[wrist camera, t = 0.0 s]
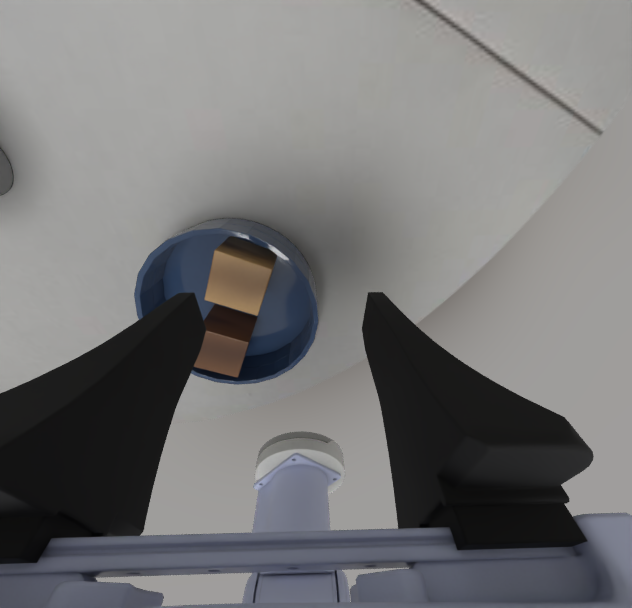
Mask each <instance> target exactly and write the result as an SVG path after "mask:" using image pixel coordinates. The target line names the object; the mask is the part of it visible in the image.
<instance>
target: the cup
mask: <svg viewBox="0 0 632 608" xmlns="http://www.w3.org/2000/svg"><path fill="white" fill-rule="evenodd" d="M12 183H13V173H12V169H11V166H10V163H9V161H8V159H7V157H6V155H5V154H4V152H3V151H2V150H1V148H0V195H3V194H5V193H6V192H8V191H9V189H10V188H11V186H12Z"/></svg>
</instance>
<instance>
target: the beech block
mask: <svg viewBox="0 0 632 608" xmlns="http://www.w3.org/2000/svg"><path fill="white" fill-rule="evenodd" d="M276 259H277V255H276V254H275V253H274V252H272V251H271V250H269V249H266V248H264V247H261V246H258V245H255V244H252V243H250V242H247V241H244V240H241V239H238V238H235V237H232V236H230V237H228V238H227V239H226V240H225V241H224V242H223V243H222V244H221V245H220V246H219V247H218V248H217V249H215V251H214V255H213V260H212V265H211V270H210V274H209V279H208V284H207V289H206V294H205V300H206V301H210V302H213V303H216V304H220V305H223V306H226V307H230V308H233V309H236V310H240V311H243V312H246V313H249V314H253V315H256V316H257V315H258V314H259V311H260V308H261V305H262V302H263V299H264V296H265V293H266V290H267V286H268V283H269V280H270V277H271V274H272V271H273V268H274V265H275V262H276Z"/></svg>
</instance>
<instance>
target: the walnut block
mask: <svg viewBox="0 0 632 608" xmlns="http://www.w3.org/2000/svg"><path fill="white" fill-rule="evenodd" d="M256 321H257V317H255V316H252V315H248V314H245V313H242V312H238V311H235V310H232V309H228V308H225V307H222V306H218V305H214V306H213V307H212V309H211V310H210V312H209V313H208V315H207V316H206V318H205V319H204V323H205V327H206V333H205V336H204V340H203V344H202V347H201V350H200V353H199V355H198V358H197V360H196V362H195V364H194V367H197V368H201V369H205V370H209V371H213V372H217V373H221V374H225V375H229V376H233V377H238V376H239V373H240V370H241V367H242V364H243V361H244V357H245V354H246V351H247V348H248V345H249V342H250V339H251V336H252V333H253V330H254V327H255V324H256Z"/></svg>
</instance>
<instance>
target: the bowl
mask: <svg viewBox="0 0 632 608" xmlns="http://www.w3.org/2000/svg"><path fill="white" fill-rule="evenodd" d="M230 236H232V237H235V238H238V239H241V240H244V241H247V242H250V243H252V244H255V245H258V246H261V247H264V248H266V249H269V250H271V251H272V252H274V253H275V254H276V255H277V259H276V262H275V265H274V268H273V271H272V274H271V277H270V280H269V283H268V286H267V290H266V293H265V296H264V299H263V302H262V305H261V308H260V311H259V314H258V315H257V316H256V315H253V314H249V313H246V312H243V311H240V310H236V309H233V308H230V307H226V306H223V305H220V304H216V303H213V302H210V301H206V300H205V294H206V289H207V284H208V279H209V274H210V270H211V265H212V260H213V255H214V251H215V249H217V248H218V247H219V246H220V245H221V244H222V243H223V242H224V241H225V240H226V239H227V238H228V237H230ZM178 293H195V296H196V299H197V302H198V305H199V308H200V311H201V314H202V317H203V320H204V319H205V318H206V316H207V315H208V313H209V312H210V310H211V309H212V307H213V306H214V305H218V306H222V307H225V308H228V309H232V310H235V311H238V312H242V313H245V314H248V315H252V316H255V317H257V321H256V324H255V327H254V330H253V333H252V336H251V339H250V342H249V345H248V348H247V351H246V354H245V357H244V361H243V364H242V367H241V370H240V373H239V376H238V377H233V376H229V375H225V374H221V373H217V372H213V371H209V370H205V369H201V368H197V367H193V369H192V371H191V373H192V374H193V375H195V376H198V377H201V378H205V379H208V380H211V381H214V382H220V383H228V384H251V383H259V382H262V381H266V380H269V379H273V378H276V377H278V376H279V375H281V374H283V373H285V372H287V371H288V370H290V369H292V368H293V367H294V366H295V365H296V364H297V363H298V362H299V361H300V360H301V359H302V358H303V357H304V356H305V355H306V353H307V352H308V350H309V348H310V347H311V345H312V343H313V341H314V339H315V334H316V330H317V326H318V309H317V295H316V284H315V281H314V277H313V274H312V271H311V269H310V267H309V265H308V263H307V261H306V260H305V258H304V257H303V255H302V254H301V253H300V251H299V250H298V249H297V248H296V247H295V246H294V245H293V244H292V243H291V242H290V241H289V240H288V239H287V238H285V237H284V236H282V235H281V234H280V233H278V232H276V231H275V230H273V229H271V228H269V227H267V226H265V225H262V224H259V223H257V222H253V221H249V220H244V219H236V218H222V219H215V220H210V221H206V222H203V223H200V224H198V225H196V226H193V227H191V228H188V229H187V230H185V231H183V232H181V233H179V234H177V235H175V236H173V237H172V238H170V239H168V240H166V241H165V242H164V243H163V244H162V245H160V246H159V247H158V248H157V249H155V250H154V251H153V252H152V253H151V254H150V255H149V256H148V258H147V259H146V261H145V263H144V264H143V266H142V268H141V269H140V271H139V273H138V277H137V282H136V288H135V293H134V297H135V303H136V310H137V315H138V318H139V320H140V319H141V318H143V317H144V316H146V315H147V314H148V313H150V312H151V311H153V310H154V309H156V308H157V307H158V306H160V305H161V304H163V303H164V302H166V301H167V300H168V299H170V298H171V297H173V296H175V295H176V294H178Z"/></svg>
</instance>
